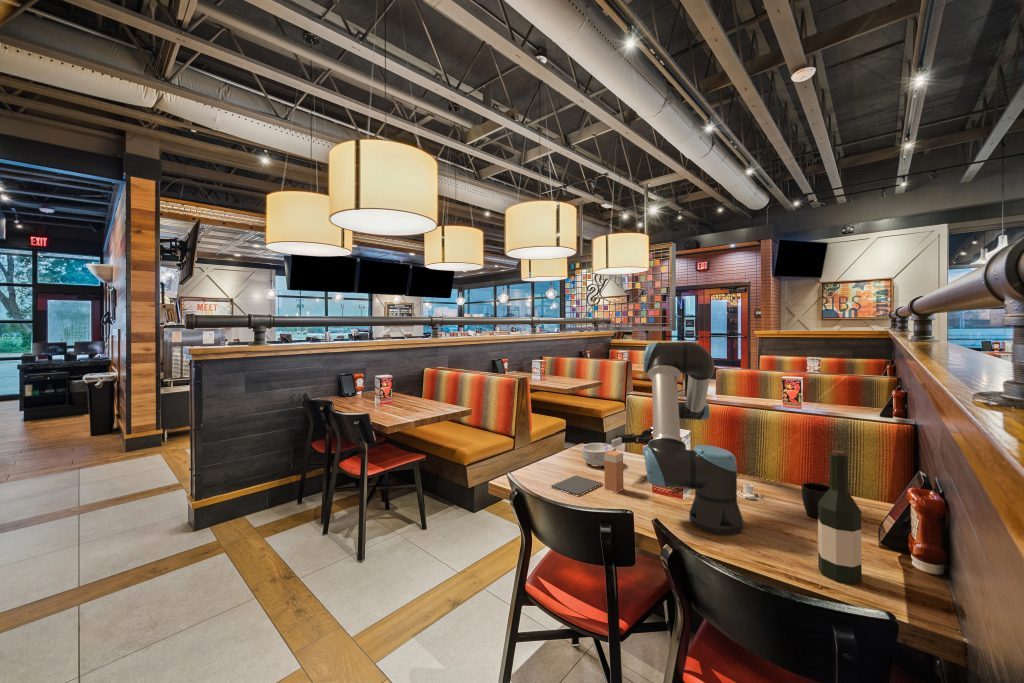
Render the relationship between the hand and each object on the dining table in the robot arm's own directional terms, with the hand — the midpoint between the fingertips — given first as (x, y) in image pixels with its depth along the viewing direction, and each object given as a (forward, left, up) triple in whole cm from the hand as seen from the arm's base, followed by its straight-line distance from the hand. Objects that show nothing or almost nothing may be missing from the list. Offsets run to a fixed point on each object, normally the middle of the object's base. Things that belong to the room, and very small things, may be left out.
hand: (627, 447), depth 166 cm
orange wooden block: (0, +10, -14) cm, 17 cm away
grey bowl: (+22, -12, -14) cm, 29 cm away
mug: (-61, -13, -14) cm, 64 cm away
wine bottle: (-70, +21, -14) cm, 74 cm away
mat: (+12, +17, -14) cm, 25 cm away
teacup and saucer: (-36, -16, -15) cm, 42 cm away
